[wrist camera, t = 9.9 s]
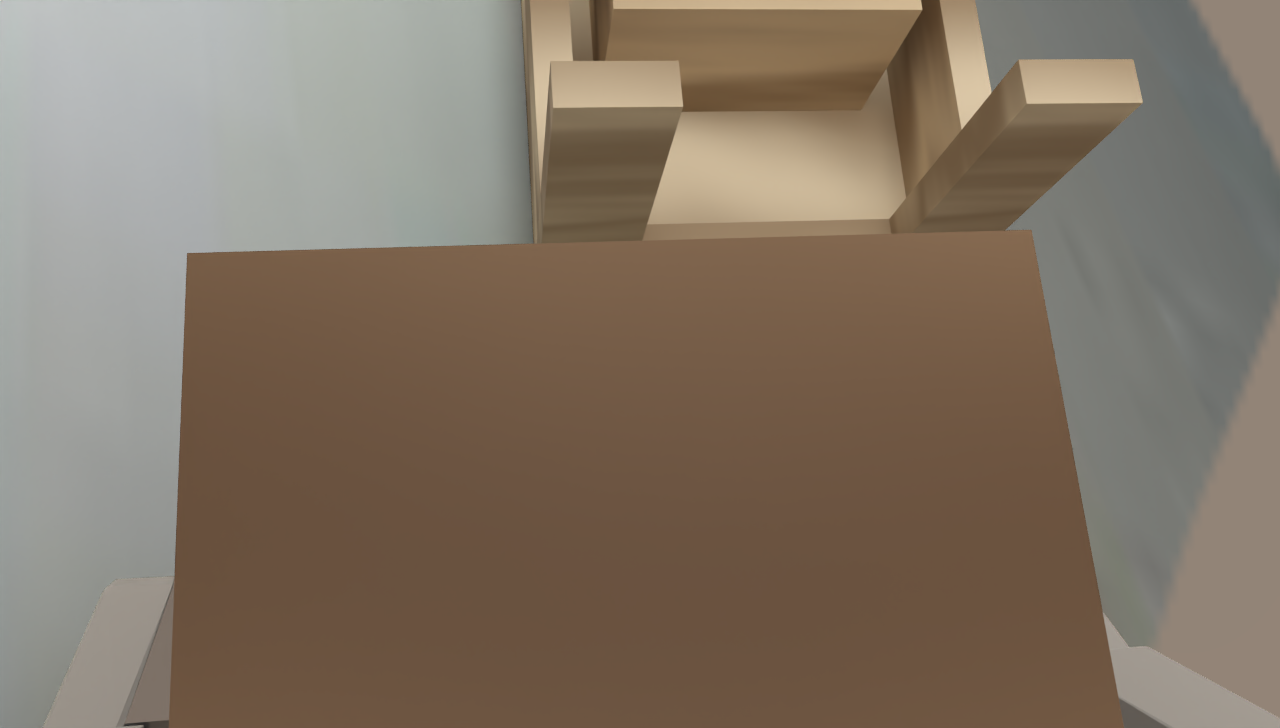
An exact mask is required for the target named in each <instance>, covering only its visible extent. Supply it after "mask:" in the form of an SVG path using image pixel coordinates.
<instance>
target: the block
mask: <svg viewBox="0 0 1280 728" xmlns="http://www.w3.org/2000/svg"><path fill="white" fill-rule="evenodd" d="M169 728H1124V724H1123V719H1122V713H1121V708H1120V703H1119V697H1118V692H1117V686H1116V681H1115V676H1114V670H1113V665H1112V660H1111V654H1110V649H1109V644H1108V638H1107V633H1106V627H1105V622H1104V617H1103V611H1102V606H1101V601H1100V595H1099V590H1098V585H1097V579H1096V574H1095V569H1094V563H1093V558H1092V552H1091V547H1090V542H1089V536H1088V531H1087V526H1086V520H1085V515H1084V510H1083V504H1082V499H1081V493H1080V488H1079V483H1078V477H1077V472H1076V467H1075V461H1074V456H1073V451H1072V445H1071V440H1070V434H1069V429H1068V424H1067V418H1066V413H1065V408H1064V402H1063V397H1062V392H1061V386H1060V381H1059V375H1058V370H1057V365H1056V359H1055V354H1054V349H1053V343H1052V338H1051V333H1050V327H1049V322H1048V317H1047V311H1046V306H1045V300H1044V295H1043V290H1042V284H1041V279H1040V274H1039V268H1038V263H1037V258H1036V252H1035V247H1034V241H1033V236H1032V231H1031V230H1007V231H971V232H935V233H899V234H863V235H827V236H791V237H755V238H719V239H683V240H647V241H611V242H575V243H539V244H503V245H467V246H430V247H394V248H358V249H322V250H286V251H250V252H214V253H187V273H186V298H185V324H184V349H183V375H182V400H181V426H180V451H179V477H178V502H177V528H176V553H175V579H174V604H173V630H172V655H171V681H170V706H169Z"/></svg>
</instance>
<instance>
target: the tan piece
mask: <svg viewBox="0 0 1280 728" xmlns="http://www.w3.org/2000/svg"><path fill="white" fill-rule="evenodd" d="M521 11H522V30H523V49H524V69H525V88H526V107H527V126H528V146H529V165H530V184H531V203H532V223H533V242H534V244H539V243H575V242H611V241H647V240H683V239H719V238H755V237H791V236H827V235H863V234H899V233H935V232H971V231H1005V230H1006V229H1007V228H1008V227H1009V226H1010V225H1011V224H1012V223H1013V222H1014V221H1015V220H1017V219H1018V218H1019V217H1020V216H1021V215H1022V214H1023V213H1024V212H1025V211H1026V210H1027V209H1028V208H1030V207H1031V206H1032V205H1033V204H1034V203H1035V202H1036V201H1037V200H1038V199H1039V198H1040V197H1041V196H1042V195H1044V194H1045V193H1046V192H1047V191H1048V190H1049V189H1050V188H1051V187H1052V186H1053V185H1054V184H1055V183H1057V182H1058V181H1059V180H1060V179H1061V178H1062V177H1063V176H1064V175H1065V174H1066V173H1067V172H1068V171H1070V170H1071V169H1072V168H1073V167H1074V166H1075V165H1076V164H1077V163H1078V162H1079V161H1080V160H1081V159H1082V158H1084V157H1085V156H1086V155H1087V154H1088V153H1089V152H1090V151H1091V150H1092V149H1093V148H1094V147H1095V146H1097V145H1098V144H1099V143H1100V142H1101V141H1102V140H1103V139H1104V138H1105V137H1106V136H1107V135H1108V134H1110V133H1111V132H1112V131H1113V130H1114V129H1115V128H1116V127H1117V126H1118V125H1119V124H1120V123H1121V122H1123V121H1124V120H1125V119H1126V118H1127V117H1128V116H1129V115H1130V114H1131V113H1132V112H1133V111H1134V110H1135V109H1137V108H1138V107H1139V106H1140V105H1141V104H1142V103H1143V101H1142V97H1141V92H1140V88H1139V83H1138V79H1137V74H1136V70H1135V65H1134V61H1133V59H1072V60H1018V61H1017V62H1016V63H1015V65H1014V66H1013V67H1012V68H1011V70H1010V71H1009V72H1008V73H1007V74H1006V76H1005V77H1004V78H1003V79H1002V81H1001V82H1000V83H999V84H998V86H997V87H996V88H995V89H994V90H993V92H992V93H991V87H990V82H989V76H988V70H987V65H986V59H985V54H984V48H983V43H982V37H981V31H980V26H979V20H978V15H977V9H976V4H975V0H521Z"/></svg>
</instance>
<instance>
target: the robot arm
mask: <svg viewBox="0 0 1280 728" xmlns="http://www.w3.org/2000/svg"><path fill="white" fill-rule="evenodd" d="M174 579H175V576H167V577H147V578H128V579H116V580H115V581H113V582H112V583H111V584H110V585H109V586H107V587H106V588H105V589H104V590H103V592H102V594H101V596H100V598H99V601H98V603H97V605H96V607H95V610H94V612H93V614H92V617H91V619H90V621H89V623H88V626H87V628H86V630H85V632H84V635H83V637H82V639H81V641H80V644H79V646H78V648H77V650H76V653H75V655H74V657H73V660H72V662H71V664H70V666H69V669H68V671H67V673H66V675H65V678H64V680H63V682H62V684H61V687H60V689H59V691H58V693H57V696H56V698H55V700H54V703H53V705H52V707H51V709H50V712H49V714H48V716H47V718H46V721H45V723H44V725H43V727H42V728H169V706H170V681H171V655H172V630H173V604H174ZM1103 617H1104V622H1105V627H1106V633H1107V638H1108V644H1109V649H1110V654H1111V660H1112V665H1113V670H1114V676H1115V681H1116V686H1117V692H1118V697H1119V703H1120V708H1121V713H1122V719H1123V724H1124V728H1280V718H1279V717H1277V716H1275V715H1273V714H1271V713H1270V712H1267V711H1266V710H1264V709H1262V708H1260V707H1258V706H1257V705H1255V704H1253V703H1251V702H1249V701H1247V700H1246V699H1244V698H1242V697H1240V696H1238V695H1236V694H1234V693H1233V692H1231V691H1229V690H1227V689H1225V688H1223V687H1222V686H1220V685H1218V684H1216V683H1214V682H1212V681H1210V680H1209V679H1207V678H1205V677H1203V676H1201V675H1199V674H1197V673H1196V672H1194V671H1192V670H1190V669H1188V668H1186V667H1184V666H1183V665H1181V664H1179V663H1177V662H1175V661H1173V660H1172V659H1170V658H1168V657H1166V656H1164V655H1162V654H1161V653H1159V652H1157V651H1155V650H1153V649H1151V648H1149V647H1148V646H1141V647H1129V646H1128V644H1127V643H1126V642H1125V640H1124V639H1123V638H1122V636H1121V635H1120V634H1119V632H1118V631H1117V630H1116V628H1115V627H1114V626H1113V624H1112V623H1111V622H1110V620H1109V619H1108V618H1107V616H1106V615H1105V614H1104V612H1103Z"/></svg>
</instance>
